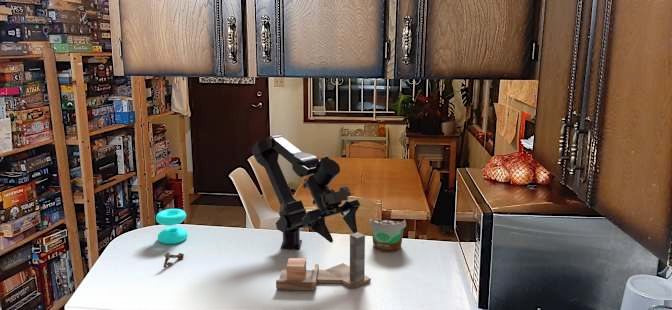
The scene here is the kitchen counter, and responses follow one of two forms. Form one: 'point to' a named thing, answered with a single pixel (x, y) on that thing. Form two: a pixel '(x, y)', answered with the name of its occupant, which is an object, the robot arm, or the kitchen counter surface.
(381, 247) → the food container
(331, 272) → the pull board
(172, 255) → the dark triangular frame
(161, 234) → the donuts
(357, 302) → the kitchen counter surface
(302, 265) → the block
